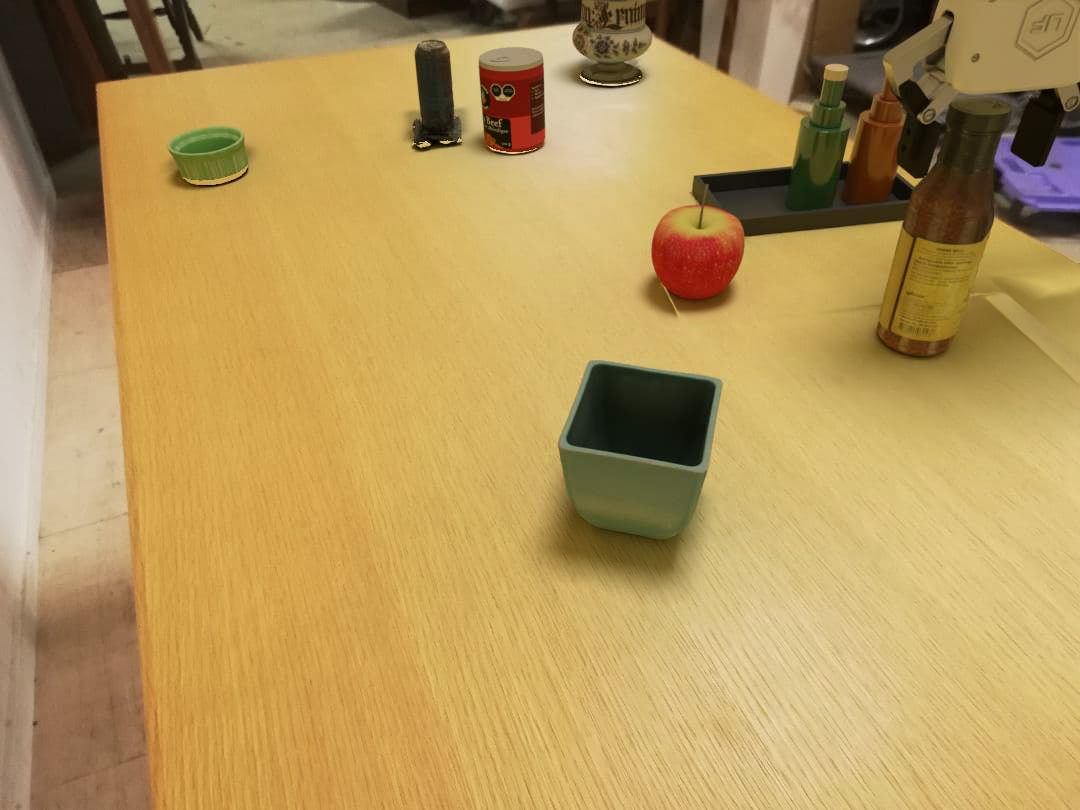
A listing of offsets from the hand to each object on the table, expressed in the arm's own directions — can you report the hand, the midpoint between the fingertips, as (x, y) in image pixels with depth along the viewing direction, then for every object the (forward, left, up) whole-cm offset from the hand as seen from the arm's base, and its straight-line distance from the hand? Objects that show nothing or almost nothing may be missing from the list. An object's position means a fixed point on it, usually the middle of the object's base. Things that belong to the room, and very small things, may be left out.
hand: (968, 164), depth 57 cm
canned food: (+28, -50, -16) cm, 59 cm away
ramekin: (+66, -49, -16) cm, 84 cm away
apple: (+16, -11, -16) cm, 25 cm away
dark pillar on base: (+38, -55, -16) cm, 69 cm away
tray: (-1, -25, -16) cm, 29 cm away
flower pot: (+28, +15, -16) cm, 35 cm away
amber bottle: (-8, -25, -15) cm, 30 cm away
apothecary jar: (+10, -73, -16) cm, 75 cm away
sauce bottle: (0, 0, -16) cm, 16 cm away
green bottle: (-2, -25, -15) cm, 29 cm away
